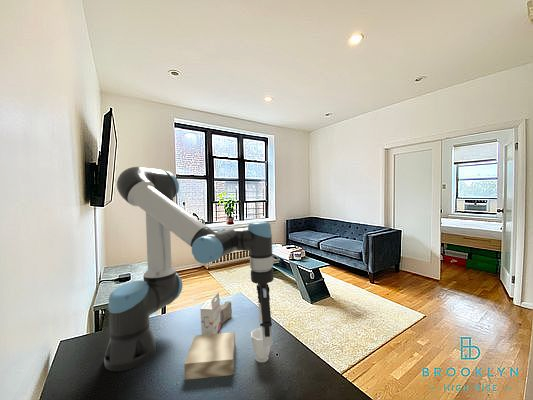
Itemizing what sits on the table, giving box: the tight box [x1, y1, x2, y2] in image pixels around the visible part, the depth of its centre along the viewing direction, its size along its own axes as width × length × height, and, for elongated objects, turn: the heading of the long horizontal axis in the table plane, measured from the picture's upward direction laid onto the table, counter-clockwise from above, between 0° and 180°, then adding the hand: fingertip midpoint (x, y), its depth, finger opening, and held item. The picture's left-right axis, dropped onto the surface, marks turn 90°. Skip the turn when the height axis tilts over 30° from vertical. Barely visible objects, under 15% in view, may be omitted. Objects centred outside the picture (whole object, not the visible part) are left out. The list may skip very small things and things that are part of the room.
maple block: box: [183, 331, 236, 380], centre depth 75 cm, size 14×14×5 cm
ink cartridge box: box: [199, 291, 222, 335], centre depth 89 cm, size 9×5×15 cm, turn 173°
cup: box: [250, 327, 271, 363], centre depth 76 cm, size 7×10×8 cm
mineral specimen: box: [220, 300, 233, 325], centre depth 99 cm, size 13×7×6 cm, turn 153°
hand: (265, 332), depth 76 cm, fingers open, 13 cm apart
